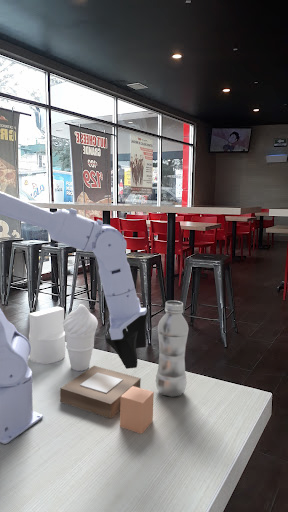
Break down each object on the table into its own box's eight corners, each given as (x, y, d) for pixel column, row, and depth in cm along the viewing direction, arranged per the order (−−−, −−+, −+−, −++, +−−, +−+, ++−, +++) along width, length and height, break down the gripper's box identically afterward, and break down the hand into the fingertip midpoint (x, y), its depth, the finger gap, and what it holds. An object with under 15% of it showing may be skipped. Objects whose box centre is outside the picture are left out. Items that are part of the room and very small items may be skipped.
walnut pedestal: (110, 418, 75) (111, 403, 75) (60, 401, 81) (60, 387, 80) (140, 391, 86) (140, 377, 85) (93, 377, 91) (93, 364, 91)
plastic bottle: (175, 404, 81) (180, 309, 78) (148, 393, 85) (152, 303, 82) (191, 392, 86) (196, 302, 83) (165, 382, 90) (169, 296, 87)
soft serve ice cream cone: (59, 362, 99) (58, 300, 96) (91, 357, 102) (92, 297, 99) (67, 377, 91) (67, 310, 88) (102, 371, 95) (103, 306, 92)
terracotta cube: (141, 434, 71) (142, 403, 70) (119, 426, 73) (120, 396, 72) (152, 421, 75) (153, 391, 74) (131, 414, 77) (132, 385, 76)
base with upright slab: (50, 346, 109) (50, 303, 107) (72, 355, 103) (72, 311, 101) (22, 356, 102) (21, 311, 100) (43, 366, 96) (43, 319, 94)
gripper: (130, 301, 65) (148, 375, 68) (148, 274, 79) (163, 337, 82) (90, 307, 67) (110, 379, 70) (115, 280, 81) (130, 340, 84)
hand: (136, 356), depth 76 cm, fingers open, 7 cm apart
